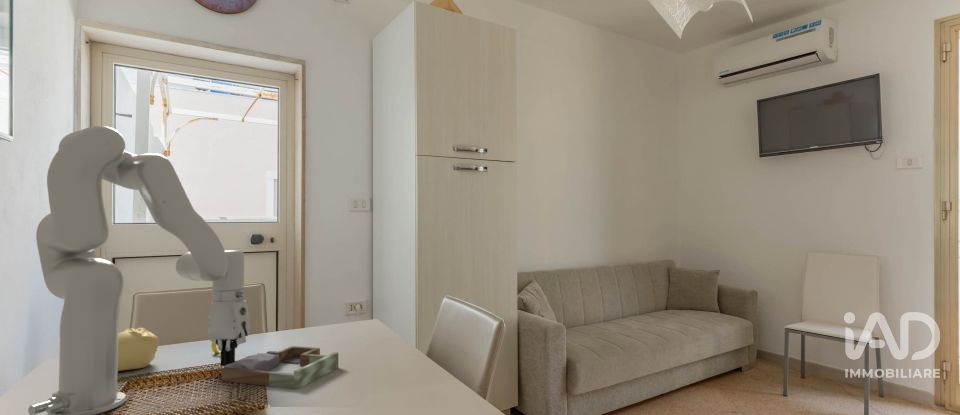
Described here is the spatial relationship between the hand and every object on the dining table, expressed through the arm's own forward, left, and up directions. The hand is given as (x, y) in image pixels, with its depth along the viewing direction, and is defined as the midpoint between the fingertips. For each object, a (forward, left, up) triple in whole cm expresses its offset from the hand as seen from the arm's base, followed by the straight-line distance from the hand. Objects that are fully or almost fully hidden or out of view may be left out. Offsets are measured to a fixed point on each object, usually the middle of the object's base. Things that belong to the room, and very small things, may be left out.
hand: (227, 364), depth 123 cm
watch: (+13, +16, -1) cm, 20 cm away
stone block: (0, -7, -2) cm, 8 cm away
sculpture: (-6, +27, -1) cm, 27 cm away
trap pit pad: (+11, -14, -1) cm, 18 cm away
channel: (+3, -18, -1) cm, 18 cm away
